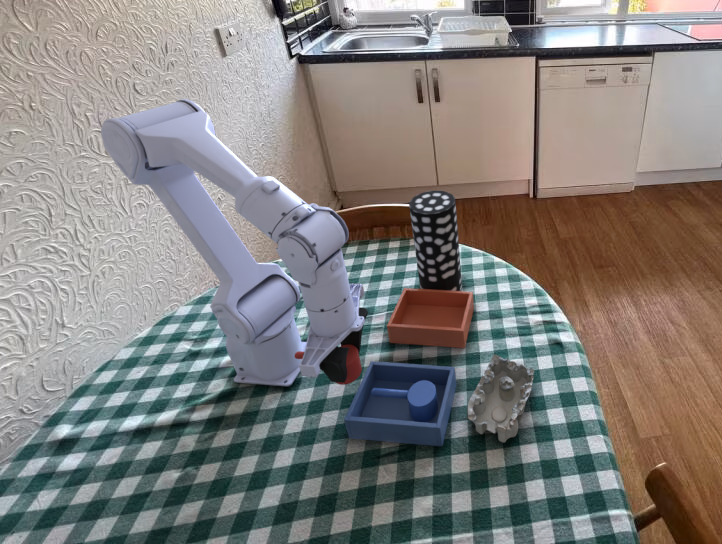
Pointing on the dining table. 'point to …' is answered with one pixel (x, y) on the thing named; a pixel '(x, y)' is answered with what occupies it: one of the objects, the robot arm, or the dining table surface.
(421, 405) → the blue cylinder with handle
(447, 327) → the red bin
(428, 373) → the blue bin
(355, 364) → the red ladle-shaped piece
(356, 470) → the dining table surface
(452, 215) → the black white spotted cylinder
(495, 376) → the egg carton
